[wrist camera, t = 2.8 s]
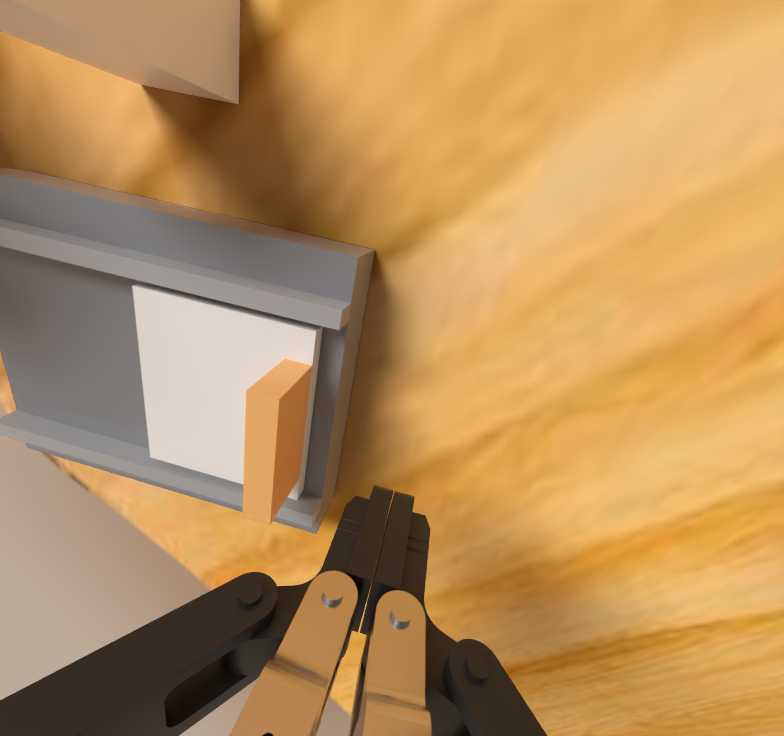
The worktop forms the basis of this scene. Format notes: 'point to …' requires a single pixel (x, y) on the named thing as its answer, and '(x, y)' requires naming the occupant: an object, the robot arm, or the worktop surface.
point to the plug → (140, 39)
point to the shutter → (228, 392)
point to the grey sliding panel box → (119, 331)
